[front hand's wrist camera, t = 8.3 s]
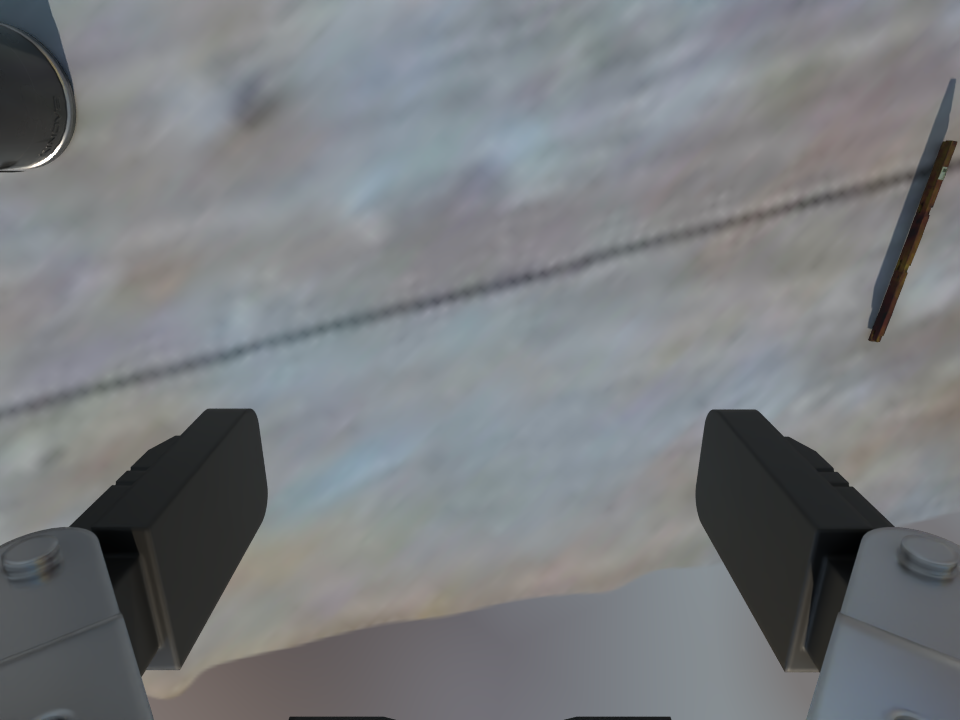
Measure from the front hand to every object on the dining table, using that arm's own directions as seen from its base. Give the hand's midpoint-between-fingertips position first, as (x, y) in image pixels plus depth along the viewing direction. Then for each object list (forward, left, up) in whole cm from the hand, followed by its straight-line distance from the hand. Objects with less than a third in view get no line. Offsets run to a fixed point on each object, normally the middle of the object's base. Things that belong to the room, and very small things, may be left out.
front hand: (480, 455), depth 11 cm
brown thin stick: (+30, +12, -37) cm, 49 cm away
